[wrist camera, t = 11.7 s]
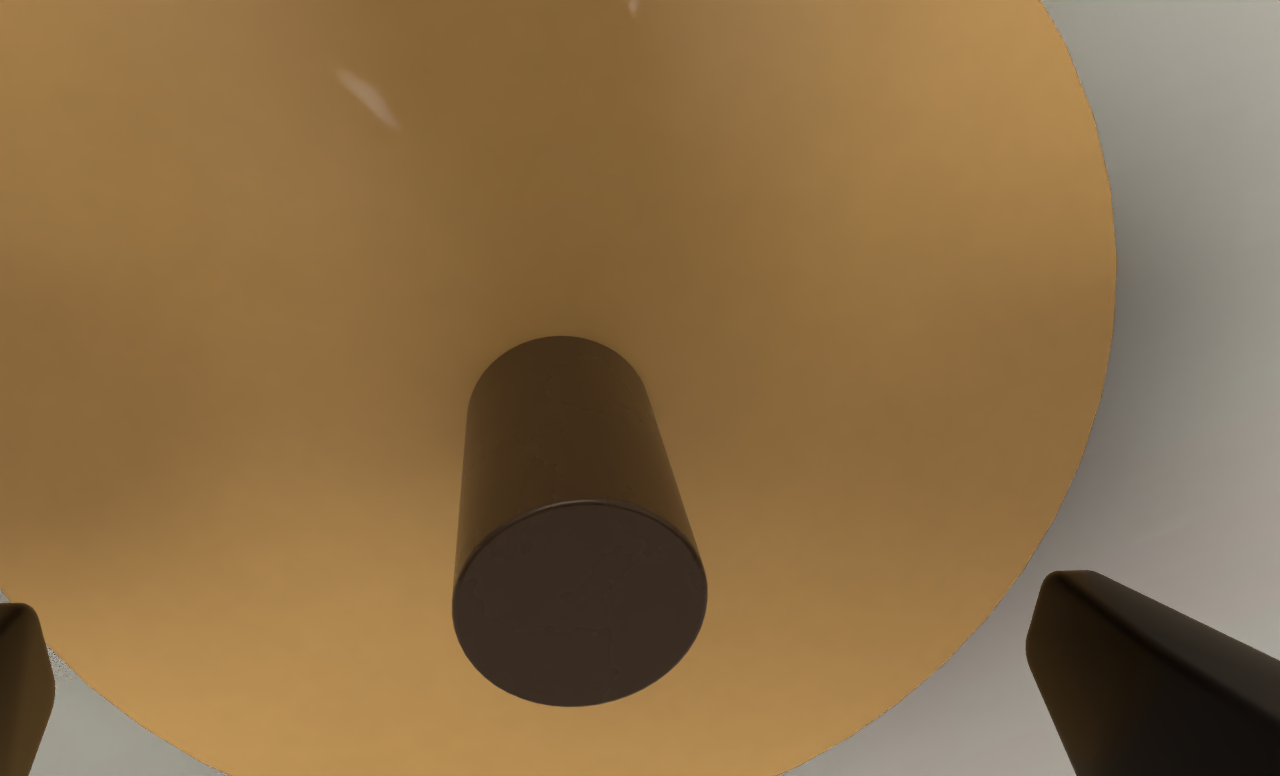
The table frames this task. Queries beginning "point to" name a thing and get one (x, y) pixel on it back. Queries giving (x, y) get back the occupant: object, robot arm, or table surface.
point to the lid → (536, 366)
